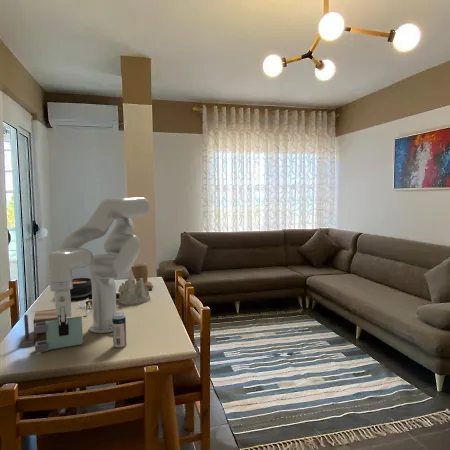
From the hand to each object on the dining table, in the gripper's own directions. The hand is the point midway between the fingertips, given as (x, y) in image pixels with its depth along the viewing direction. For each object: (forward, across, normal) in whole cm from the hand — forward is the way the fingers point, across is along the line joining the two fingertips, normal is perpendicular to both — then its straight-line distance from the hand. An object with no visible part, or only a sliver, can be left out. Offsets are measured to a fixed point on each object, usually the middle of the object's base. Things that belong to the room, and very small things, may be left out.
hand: (64, 333), depth 132 cm
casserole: (+6, +75, -7) cm, 75 cm away
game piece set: (+6, +41, -3) cm, 42 cm away
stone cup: (+6, +74, -43) cm, 86 cm away
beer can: (+5, -8, -19) cm, 21 cm away
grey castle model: (+6, +51, -34) cm, 61 cm away
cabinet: (+5, +15, +7) cm, 18 cm away
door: (+5, 0, +2) cm, 5 cm away
